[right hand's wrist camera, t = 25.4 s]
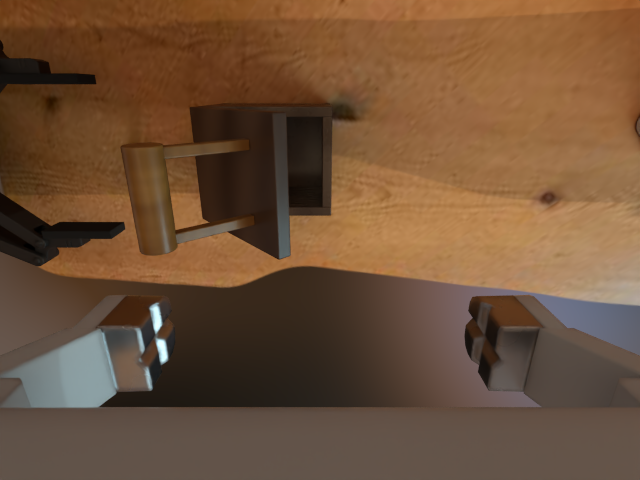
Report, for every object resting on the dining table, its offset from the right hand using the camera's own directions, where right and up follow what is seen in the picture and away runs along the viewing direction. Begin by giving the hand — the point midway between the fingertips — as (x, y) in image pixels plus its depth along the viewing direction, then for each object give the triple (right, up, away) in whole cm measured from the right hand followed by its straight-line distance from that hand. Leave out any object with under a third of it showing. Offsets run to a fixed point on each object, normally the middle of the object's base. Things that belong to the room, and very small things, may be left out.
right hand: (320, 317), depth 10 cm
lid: (-6, +7, +18) cm, 20 cm away
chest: (-5, +12, +31) cm, 33 cm away
